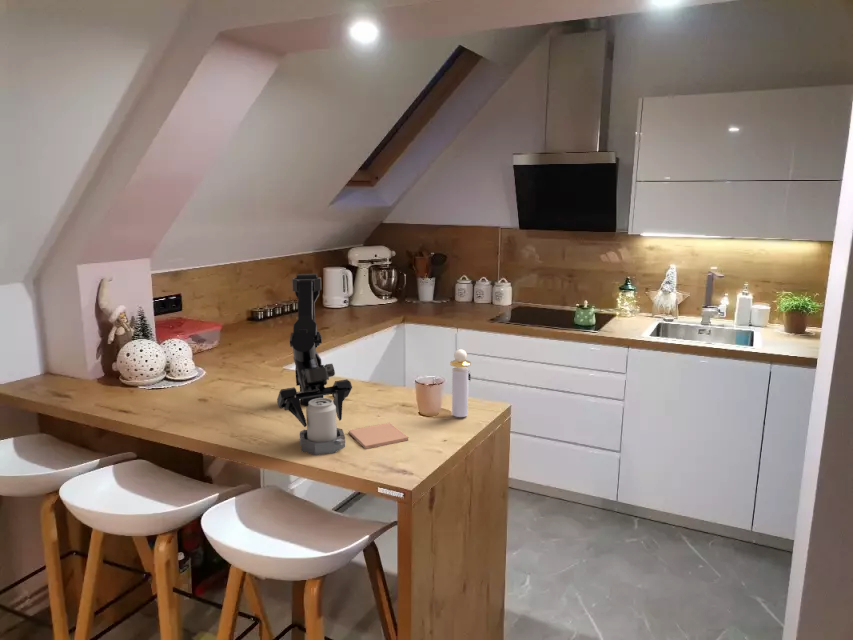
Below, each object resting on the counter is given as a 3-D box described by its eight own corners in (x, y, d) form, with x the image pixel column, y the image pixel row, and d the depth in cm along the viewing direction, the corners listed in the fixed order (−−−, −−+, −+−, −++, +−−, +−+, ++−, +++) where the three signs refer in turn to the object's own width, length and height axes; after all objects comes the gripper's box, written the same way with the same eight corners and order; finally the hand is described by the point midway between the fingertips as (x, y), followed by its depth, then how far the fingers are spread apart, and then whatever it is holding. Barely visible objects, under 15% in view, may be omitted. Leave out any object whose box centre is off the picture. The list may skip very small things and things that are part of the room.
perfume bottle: (461, 421, 181) (461, 353, 177) (445, 416, 185) (446, 349, 181) (474, 416, 185) (475, 349, 181) (458, 411, 189) (459, 345, 185)
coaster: (348, 432, 173) (348, 430, 173) (389, 425, 179) (389, 422, 179) (365, 448, 163) (365, 446, 163) (408, 440, 168) (408, 437, 168)
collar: (287, 447, 164) (287, 436, 163) (316, 433, 173) (315, 422, 173) (329, 458, 157) (328, 447, 157) (356, 443, 167) (356, 432, 166)
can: (338, 439, 169) (337, 396, 167) (335, 451, 162) (334, 405, 159) (309, 440, 169) (307, 396, 166) (305, 451, 162) (303, 406, 159)
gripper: (277, 358, 160) (292, 414, 152) (348, 349, 168) (365, 402, 161) (271, 380, 168) (284, 434, 161) (339, 370, 177) (354, 422, 169)
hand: (323, 423), depth 163 cm, fingers open, 9 cm apart
